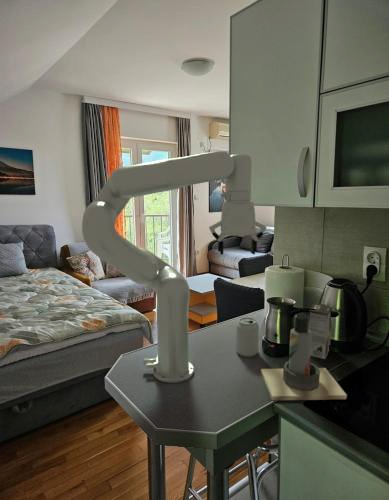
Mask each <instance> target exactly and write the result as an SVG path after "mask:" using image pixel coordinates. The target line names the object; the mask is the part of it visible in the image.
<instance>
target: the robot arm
mask: <svg viewBox="0 0 389 500" xmlns="http://www.w3.org/2000/svg"><path fill="white" fill-rule="evenodd" d="M252 163H253V161H252V157H251V156H250V155H248V154H241V153H239V154H236V153H235V154H230V153H228V152H227V151H225V150H217V151H210V152H205V153H198V154H194V155H193V154H192V155H188V156H182V157H174V158H166V159H161V160H155V161H154V160H153V161H150V162H143V163H138V164H132V165H126V166H120V167H117V168H115V169H114V170H113V171H112V172H111V173H110V175H109V178H108V179H107V181H106V182H105V184H104V185H103V187H102V188H101V189H100V190H99V192H98V193H97V195H96V196H95V198H94V199H93V200H92V202H91V203H90V204H89V205H88V206H86V208H85V210H84V212H83V216H82V220H81V231H82V233H81V234H82V237H83V240H84V242H85V245H86V246H87V247H88V249H89V250H90V251H91V252H92V253H93V254H94V255H95V256H96V257H98V258H99V259H100V260H102V261H103V262H104V263H106V264H108V265H109V266H110V267H112V268H113V269H115V270H116V271H118V272H119V273H120V274H122V275H124V276H125V277H127V278H129V280H131V282H133V283H136V284H139V285H146V286H147V287H148V288H151V289H152V290H153V291H154V292H155V294H156V334H157V335H156V341H157V343H156V345H157V356H156V357H154V358H143V366H146V369H152V374H153V377H154V378H155V379H156V380H159V381H160V382H163V383H167V384H168V383H169V384H173V383H174V384H175V383H181V382H185V381H186V380H189V379H190V378H191V377H192V376H193V375H194V372H195V371H194V370H195V369H194V365H193V364H192V363H191V362H189V360H190V359H189V356H190V353H189V345H190V344H189V343H190V342H189V305H190V296H191V295H190V293H191V291H190V285H189V284H188V281H187V279H186V278H185V276H183V275H182V274H181V272H180V271H178V270H177V269H176V268H174V267H173V266H171V265H170V264H169V263H167V262H166V261H164V260H163V259H161V258H160V257H158V256H157V255H155V254H154V253H153V252H151V251H150V250H148V249H146V248H143V247H138V246H136V245H135V244H134V243H132V242H131V241H129V240H128V239H127V238H126V237H123V236H122V235H121V234H120V233H119V232H118V231H117V229H116V223H117V219H118V217H119V216H120V215H121V213H122V212H123V211H124V208H126V206H127V205H128V203H129V201H131V199H132V198H136V197H143V196H147V195H152V194H157V193H163V192H164V193H165V192H168V191H174V190H175V191H176V190H179V189H181V188H184V187H189V186H192V185H197V184H204V183H209V182H213V181H214V182H215V181H219V180H225V192H223V193H220V199H224V200H225V201H224V202H223V203H222V208H221V214H220V215H221V216H220V221H217V222H215V223H213V224H211V225H210V226H209V231H210V233H211V234H212V236H213V237H214V239H216V240H217V251H218V252H219V254H220V255H224V241H223V240H224V238H225V237H226V236H229V237H231V236H233V237H235V236H236V237H237V236H238V237H239V236H240V237H241V236H243V237H244V236H249V237H251V241H250V253H251V255H255V254H256V252H257V249H258V241H259V240H260V239H261V238H262V237H263V236H264V233H265V232H266V230H267V226H265V225H264V224H262V223H260V222H258V221H256V210H255V204H254V202H253V201H252V197H251V195H252ZM219 227H220V234H218V233H217V232H216V229H217V228H219ZM256 227H257V228H259V231H258V233H256V229H257V228H256Z"/></svg>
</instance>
